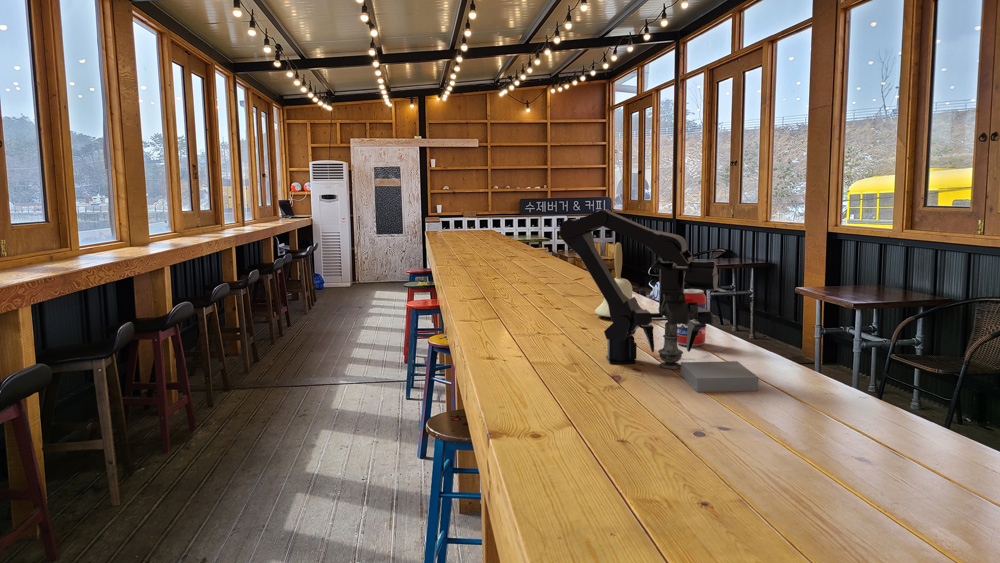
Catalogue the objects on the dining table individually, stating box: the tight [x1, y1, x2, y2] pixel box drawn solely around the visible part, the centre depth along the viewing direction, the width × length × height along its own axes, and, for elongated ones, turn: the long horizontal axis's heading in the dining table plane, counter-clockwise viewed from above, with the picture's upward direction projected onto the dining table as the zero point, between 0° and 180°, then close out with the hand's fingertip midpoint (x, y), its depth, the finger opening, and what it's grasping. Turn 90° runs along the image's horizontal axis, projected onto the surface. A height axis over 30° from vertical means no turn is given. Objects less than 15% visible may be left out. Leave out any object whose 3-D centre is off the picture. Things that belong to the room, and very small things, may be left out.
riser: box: [680, 360, 760, 393], centre depth 149 cm, size 13×13×3 cm
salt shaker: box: [657, 321, 684, 370], centre depth 162 cm, size 6×6×12 cm
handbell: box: [594, 242, 633, 318], centre depth 222 cm, size 15×15×25 cm
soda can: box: [677, 288, 707, 348], centre depth 183 cm, size 8×8×15 cm
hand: (670, 351), depth 162 cm, fingers closed on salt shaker, 8 cm apart
